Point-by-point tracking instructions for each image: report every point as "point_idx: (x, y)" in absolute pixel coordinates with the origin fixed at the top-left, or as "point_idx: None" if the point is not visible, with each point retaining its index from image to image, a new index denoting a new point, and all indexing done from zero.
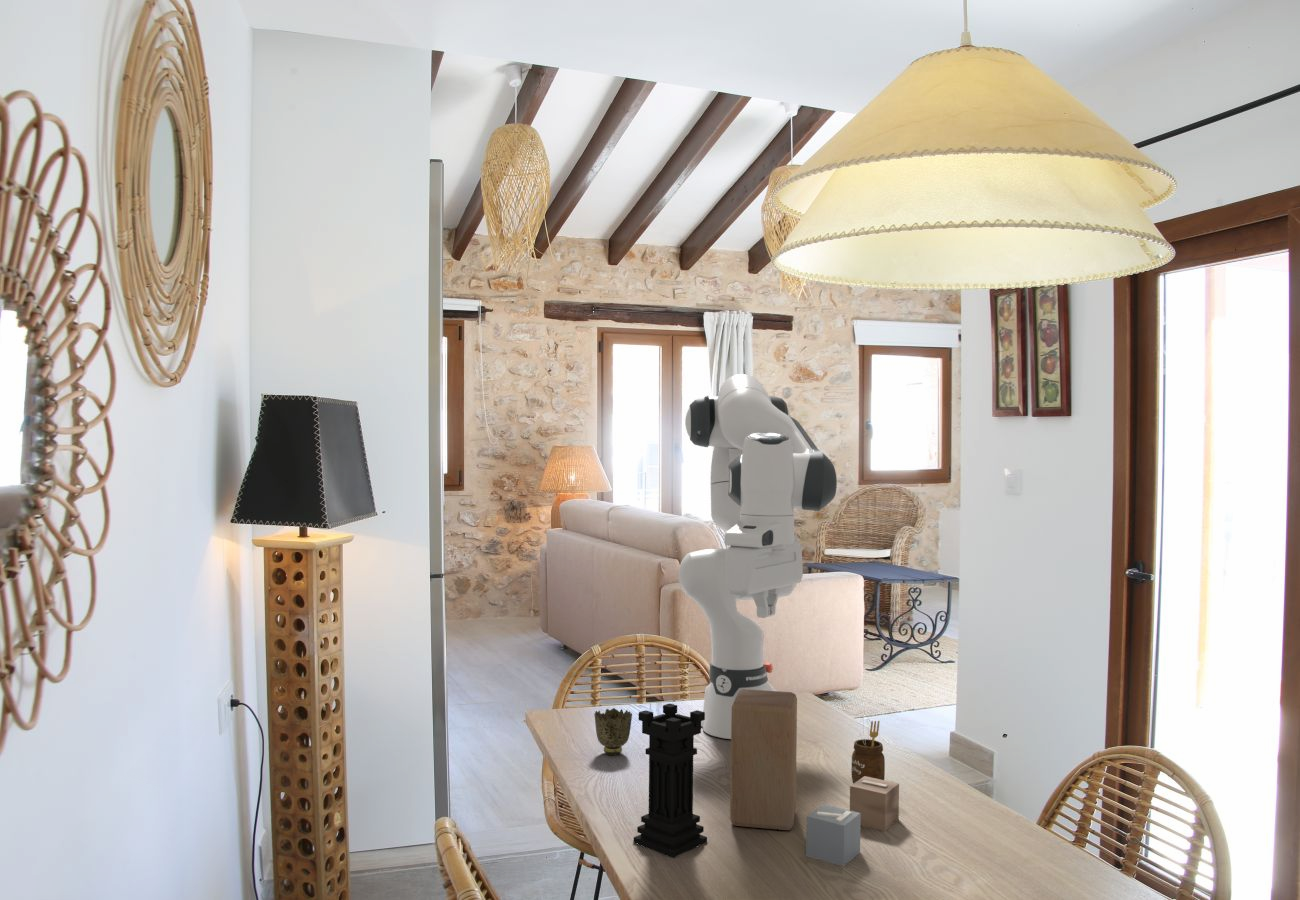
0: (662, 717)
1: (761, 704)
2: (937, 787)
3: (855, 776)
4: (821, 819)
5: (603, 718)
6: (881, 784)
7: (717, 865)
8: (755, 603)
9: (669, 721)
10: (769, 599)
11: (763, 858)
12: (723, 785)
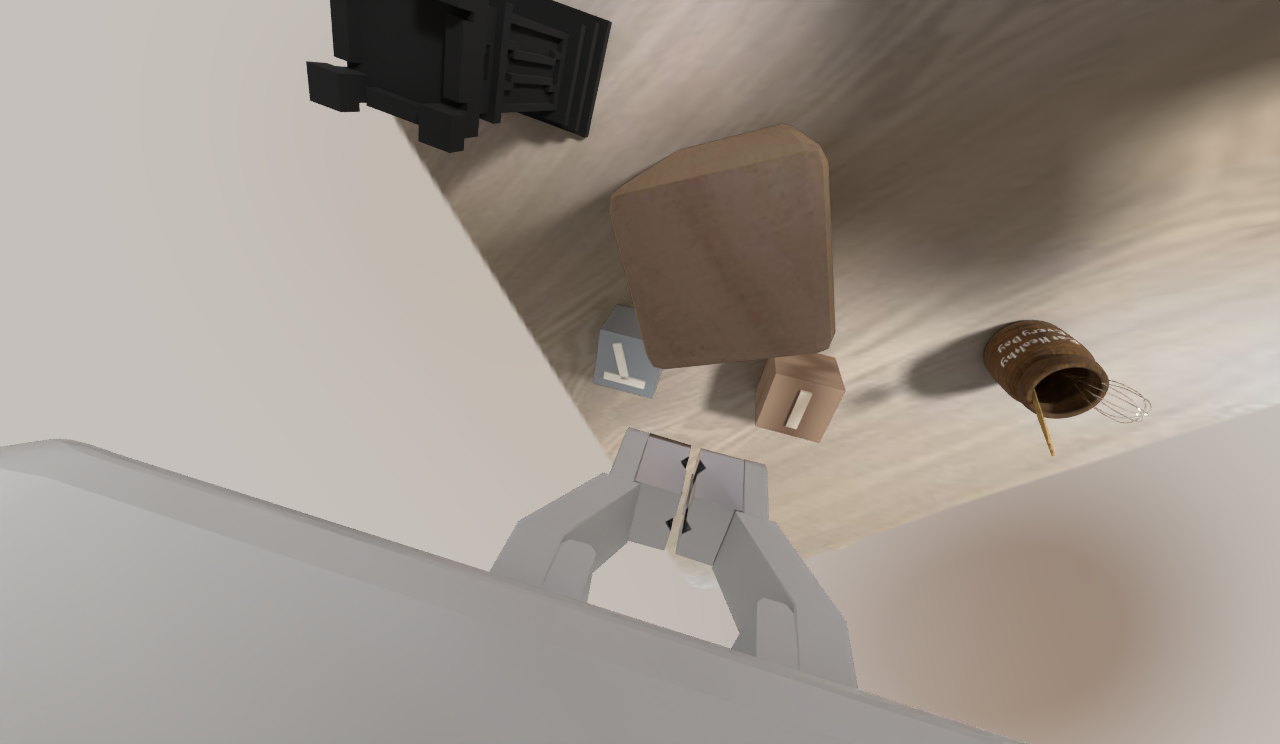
0: None
1: (636, 288)
2: (999, 456)
3: (1004, 335)
4: (598, 351)
5: None
6: (795, 420)
7: (519, 189)
8: (581, 485)
9: (310, 79)
10: (747, 578)
11: (577, 248)
12: (931, 27)
